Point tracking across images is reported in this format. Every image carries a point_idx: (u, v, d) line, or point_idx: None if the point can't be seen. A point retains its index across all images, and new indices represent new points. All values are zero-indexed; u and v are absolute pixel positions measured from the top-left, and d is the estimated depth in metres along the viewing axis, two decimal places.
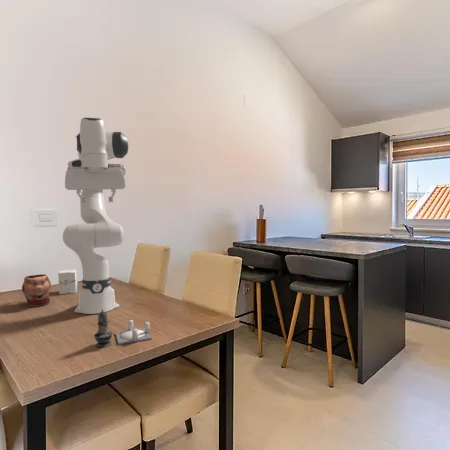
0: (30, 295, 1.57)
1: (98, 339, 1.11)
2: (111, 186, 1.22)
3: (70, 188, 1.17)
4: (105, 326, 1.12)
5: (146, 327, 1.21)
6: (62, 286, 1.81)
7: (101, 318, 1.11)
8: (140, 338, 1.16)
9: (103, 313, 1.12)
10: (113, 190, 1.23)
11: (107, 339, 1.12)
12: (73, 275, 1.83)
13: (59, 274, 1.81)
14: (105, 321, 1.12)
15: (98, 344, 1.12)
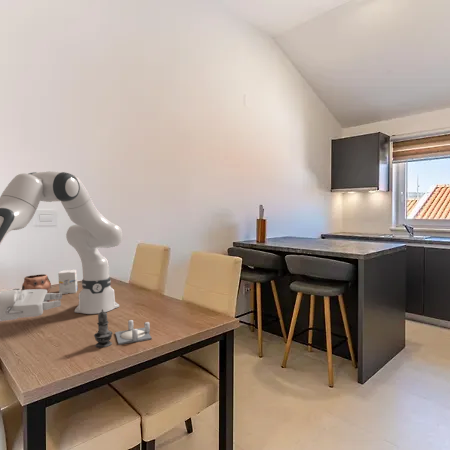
0: None
1: (98, 339, 1.11)
2: None
3: None
4: (105, 326, 1.12)
5: (146, 327, 1.21)
6: (62, 286, 1.81)
7: (101, 318, 1.11)
8: (140, 338, 1.16)
9: (103, 313, 1.12)
10: None
11: (107, 339, 1.12)
12: (73, 275, 1.83)
13: (59, 274, 1.81)
14: (105, 321, 1.12)
15: (98, 344, 1.12)
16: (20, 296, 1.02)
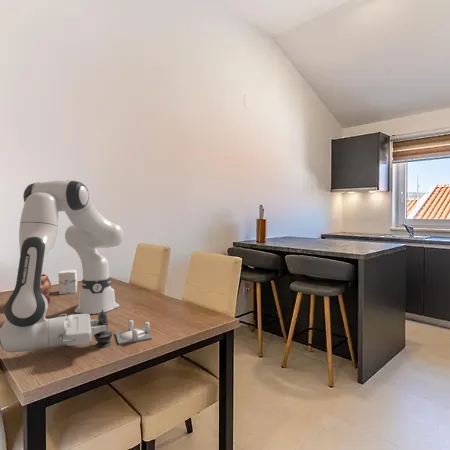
0: None
1: (98, 339, 1.11)
2: None
3: None
4: None
5: (146, 327, 1.21)
6: (62, 286, 1.81)
7: (101, 318, 1.11)
8: (140, 338, 1.16)
9: (103, 313, 1.12)
10: None
11: (107, 339, 1.12)
12: (73, 275, 1.83)
13: (59, 274, 1.81)
14: (105, 321, 1.12)
15: (98, 344, 1.12)
16: (69, 323, 1.07)
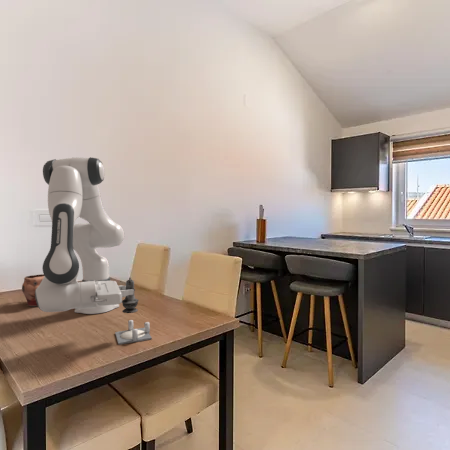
0: (30, 295, 1.57)
1: (125, 305, 1.17)
2: None
3: None
4: None
5: (146, 327, 1.21)
6: None
7: (129, 285, 1.17)
8: (140, 338, 1.16)
9: (130, 281, 1.18)
10: None
11: (134, 305, 1.18)
12: None
13: None
14: (132, 288, 1.18)
15: (125, 310, 1.18)
16: (99, 286, 1.13)
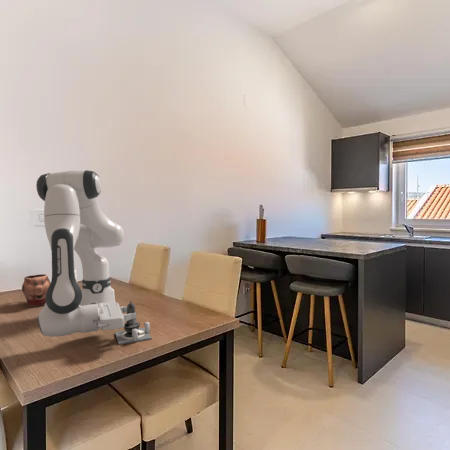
0: (30, 295, 1.57)
1: (127, 329, 1.17)
2: None
3: None
4: None
5: (146, 327, 1.21)
6: None
7: (130, 309, 1.18)
8: (140, 338, 1.16)
9: (131, 304, 1.18)
10: None
11: None
12: None
13: None
14: None
15: (127, 334, 1.19)
16: (102, 310, 1.14)
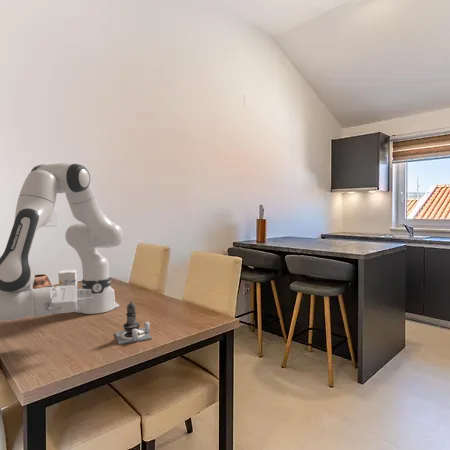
0: None
1: (127, 329, 1.17)
2: None
3: None
4: (133, 317, 1.18)
5: (146, 327, 1.21)
6: None
7: (130, 309, 1.18)
8: (140, 338, 1.16)
9: (131, 305, 1.18)
10: None
11: None
12: (73, 275, 1.83)
13: (59, 274, 1.81)
14: (133, 312, 1.18)
15: (127, 334, 1.19)
16: (55, 293, 1.09)
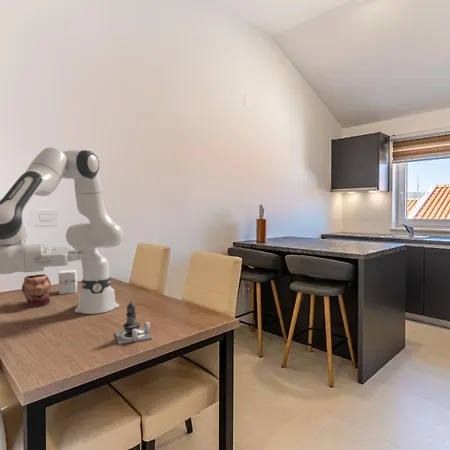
0: (30, 295, 1.57)
1: (127, 329, 1.17)
2: None
3: None
4: (133, 317, 1.18)
5: (146, 327, 1.21)
6: (62, 286, 1.81)
7: (130, 309, 1.18)
8: (140, 338, 1.16)
9: (131, 305, 1.18)
10: (69, 261, 1.07)
11: None
12: (73, 275, 1.83)
13: (59, 274, 1.81)
14: (133, 312, 1.18)
15: (127, 334, 1.19)
16: (46, 249, 1.08)
